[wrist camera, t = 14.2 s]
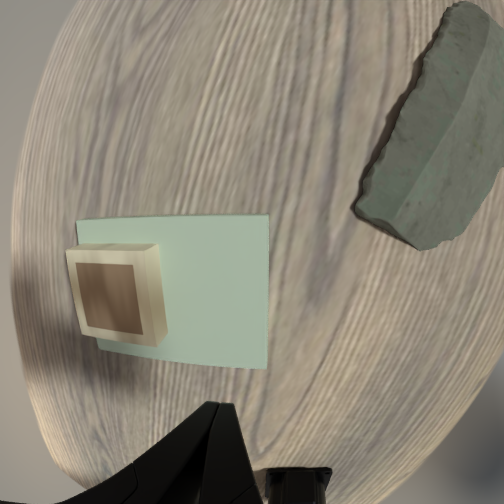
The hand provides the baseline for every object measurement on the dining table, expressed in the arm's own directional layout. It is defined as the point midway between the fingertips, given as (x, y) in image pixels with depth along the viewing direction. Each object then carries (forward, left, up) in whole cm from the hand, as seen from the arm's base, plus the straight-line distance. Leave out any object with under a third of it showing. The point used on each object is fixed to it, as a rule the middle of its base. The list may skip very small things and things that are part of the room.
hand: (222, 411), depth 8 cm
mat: (0, +6, -11) cm, 12 cm away
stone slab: (+12, -15, -11) cm, 23 cm away
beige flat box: (0, +6, -9) cm, 10 cm away
